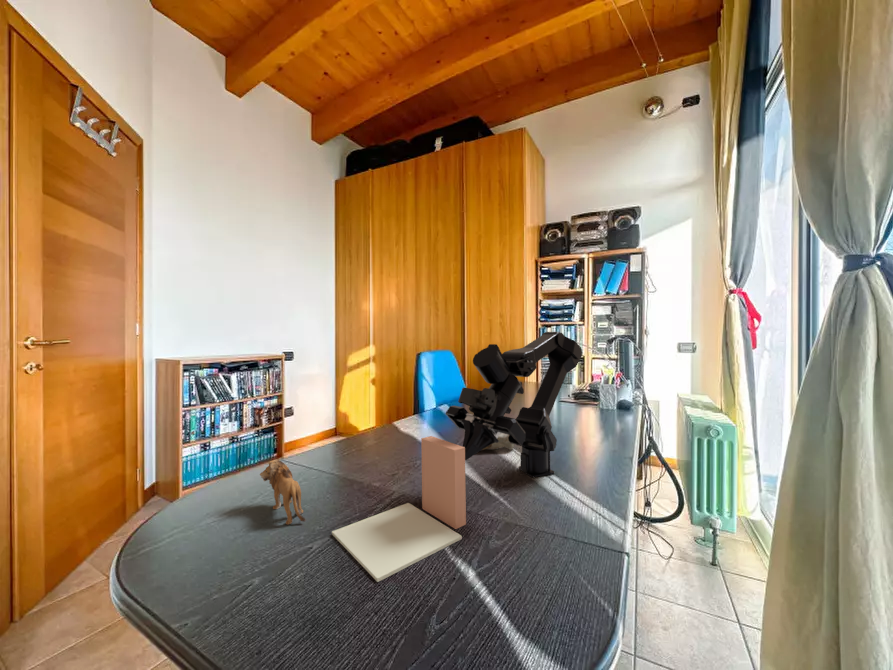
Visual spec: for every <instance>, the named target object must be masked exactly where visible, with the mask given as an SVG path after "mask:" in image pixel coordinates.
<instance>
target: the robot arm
mask: <svg viewBox="0 0 893 670" xmlns="http://www.w3.org/2000/svg"><path fill="white" fill-rule="evenodd" d="M546 356H547V358H548V362H549V365H548V368H547V370H546V372H545V374H544V377H543V379H542V380H541V384H540V386H539V388H538V389H537V393H536V395H535V397H534V399H533V401H532V404H531V406H529V407H524V406H523V407H521V408H520V409H519V411H518V414H517V417H516V418H514V417H509V416H505V414H507V415H510V414H511V412H512V409H511V407H510V406H511V404H512V402H513V400H514V398H515V397H516V395H517V394H520V395H524V392H525V391H524V387H523V382H522V381H519V379H518V377H521V378H522V377H523V378H529V377H531V375H532V374H533V373H534V372H535V371H536V370H537V368H538V367H537V363H538V362H539V361H541V360H542V359H543V358H545V357H546ZM582 357H583V349H582V347H581V346H580V344H579V343H578V342H577V341H576V340H574V339H571V338H569V337H567V336H566V335H564V333H562V332H560V331H546V332H543V333H542V334H541V335H540V336H538V337H537V338H536V339H534V340H532V341H531V342H529V343H528V344H527V345H525V346H523V347H521V348H514V349H510V350H507V351H504V352H502V351H501V350H500V347H499V346H498V344H497V343H495V344H494V343H491V344H490V343H489V344H488V346H487V347H485V348H482V349H481V350H480V351H478V352H477V353H476V354H474V356H473V359H472V364H473V365H474V367H475V368H476V370H477V371H478V372H479V374H480V375H481V377H482V378H483V380H484V381H485V382H486V384H490V386H489V388H487V387H484V388H483V389H482V390H481V389H479V390H477V389H475V388H470V387H469V388H468V387H462V389H461V391H460V394H459V398H458V403H459V404H464V405H465V406H469V407H468V410H469V411H468V410H467V409H466V408H465V407H464V406H458V405H451V406H449V407H448V409H447V410H446V412H445V416H447V418H448V419H450V421H451V422H452V423H453V424H454V425H455V426H456V427H457V428H458V429H460V430H463V431H464V437H463V442H462V445H461V446H462V447H465V461H467V460H469V459H470V458H471V457H473V456H475V455H476V454H478V453H480V451H483V450H482V449H484V448H486V447H488V446H489V445H491V444H493V443H498V441H499V440H498V439H497V438H498V436H499V434H501V433H504V434H508V435H509V437H508V439H509V442H510V443H512V444H515V445H516V446H519V447H521V453H520V466H518V470H520V471H522V472H523V473H524V474H526V475H528V476H529V477H531V478H539V477H544V476H549V475H554V474H555V471H554V470H552V469H551V452H554V451H555V449H556V448H557V437H556V435H555V434H554V433H553V431H552V427H553V426H552V423H551V419H550V418H551V417H550V415H551V412H552V409H553V407H554V405H555V403H556V400H557V397H558V395H559V393H560V391H561V388H562V385H563V383H564V382H565V378H566V376H567V374H568V373H569V372H571V371H572V370H573V369H575V368H576V367H577V365H578V364H579V363H580V360H581V359H582ZM469 412H471V413H469ZM515 445H514V446H515Z"/></svg>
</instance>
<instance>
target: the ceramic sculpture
mask: <svg viewBox="0 0 893 670" xmlns="http://www.w3.org/2000/svg"><path fill="white" fill-rule="evenodd" d="M508 437H509V435H508V434H504V433H501V434H499V436H498V438H497V439H498V440H499V441H498V443H493V444H491V445H489V446H488V447H486V448H484V449H482V450H481V451H485V450H497V448H498V449H501V448H506V449H508V450H509V451H512V450H513V449H514V447H515V444H512V443H510V442H509V439H508Z"/></svg>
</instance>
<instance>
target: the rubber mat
mask: <svg viewBox="0 0 893 670" xmlns="http://www.w3.org/2000/svg"><path fill="white" fill-rule="evenodd" d="M331 535H332V536H333V538H335V540H337V541H338V542H339V544H341V545H342V547H343V548H345V550H346V551H347V552H348V553H349V554H350V555H351V556H352V558H354V559H355V560H356V561H357V563H358V564H359V565H361V566H362V567H363V569H364V570H365V571H366V572H367V573H368V574H369V575H370V576H371V577H372V578H373V579H374V580H375V582H377V583H379V582H381V581H383V580H385V579H387V578H388V577H391V576H393V575H394V574H396V573H399V572H400V571H402V570H404V569H406V568H408V567H410V566H411V565H414V564H416V563H418V562H420V561H421V560H423V559H426V558H428V557H429V556H431V555H434V554H435V553H437V552H440V551H442V550H443V549H445V548H448V546H451V545H453V544H454V543H456V542H459V541H461V540H462V538H463V537H462V536H463V535H461V534H459V533H458V532H456V531H454V530H453V529H451V528H450V527H448V526H447V525H445V524H443V522H442V523H441V522H440V521H439V520H437V519H435V518H433V517H432V516H430V515H429V514H427V513H426V512H424V511H423V510H421V509H420V508H417V506H414V505H413V504H411V503H409V502H407V503H404V504H400V505H398V506H396V507H393V508H391V509H388V510H386V511H383V512H380V513H377V514H375V515H372V516H370V517H367V518H364V519H362V520H359V521H356V522H354V523H351V524H349V525H345V526H342V527H340V528H338V529H334V530H332V531H331Z"/></svg>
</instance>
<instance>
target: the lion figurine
mask: <svg viewBox="0 0 893 670" xmlns="http://www.w3.org/2000/svg"><path fill="white" fill-rule="evenodd" d="M259 476H260V478H261V479H263V482H267V481H269V485H271V488H272V490H273V497H274V500H275V504H274V505H273V506H272V509H273V510H279V509H280V508H281V506H282V502H283V508H284V511H285V513H286V517H287V519H286V521H285V525H291V524H292V523H293V513H292V511H291V508H290V507H291V503H292V505H293V509H294V513H295V515H296V516H297V517H298V519H299V520H300V522H303V523H304V522H306V521H307V519H306V518H305V517H304V516H303V515H302V514H303V513H304V509H302V489H301V486H300V483H299V482H298V481H297V480H294V478H293V473H292V471H291V470H290V468H289V466H288V465H287V464H286V463H285V462H283V461H282V460H279V459H273V460H270V461H269V462H268V466H267V467H265V469H264V470H263V471H261V472H260V473H259ZM281 496H282V499H283V500H282V502H281V499H280V497H281Z"/></svg>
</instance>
